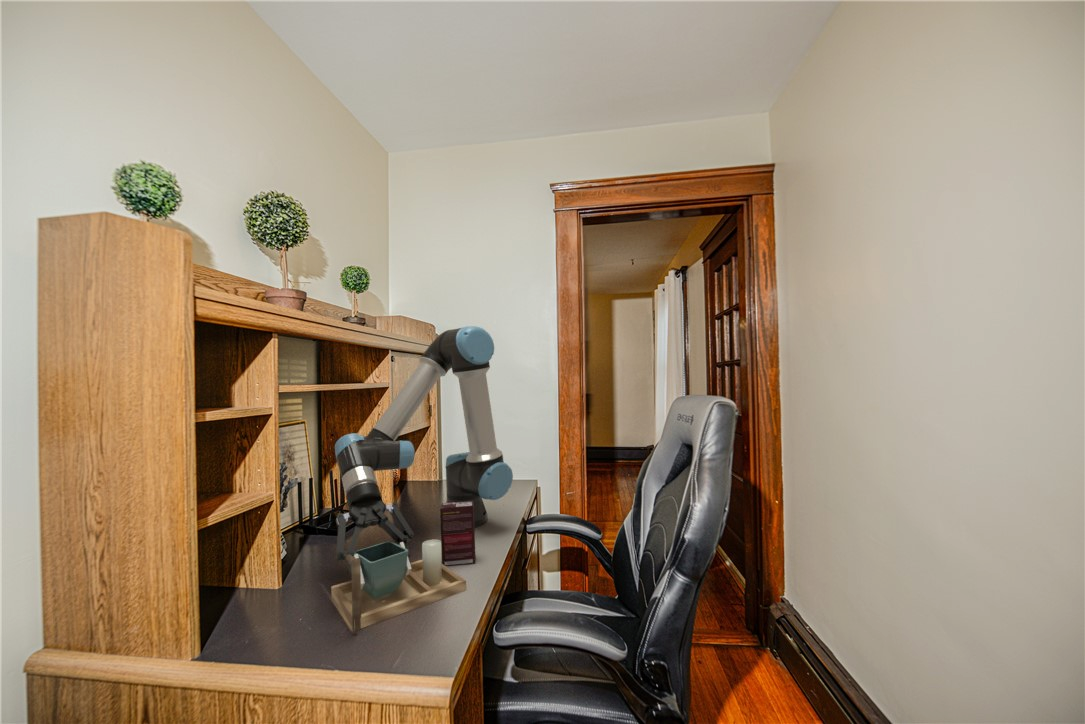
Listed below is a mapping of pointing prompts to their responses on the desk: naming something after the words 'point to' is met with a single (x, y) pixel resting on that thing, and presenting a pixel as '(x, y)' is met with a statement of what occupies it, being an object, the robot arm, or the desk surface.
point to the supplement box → (457, 533)
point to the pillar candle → (432, 562)
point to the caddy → (390, 595)
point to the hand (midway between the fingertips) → (385, 579)
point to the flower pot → (382, 568)
